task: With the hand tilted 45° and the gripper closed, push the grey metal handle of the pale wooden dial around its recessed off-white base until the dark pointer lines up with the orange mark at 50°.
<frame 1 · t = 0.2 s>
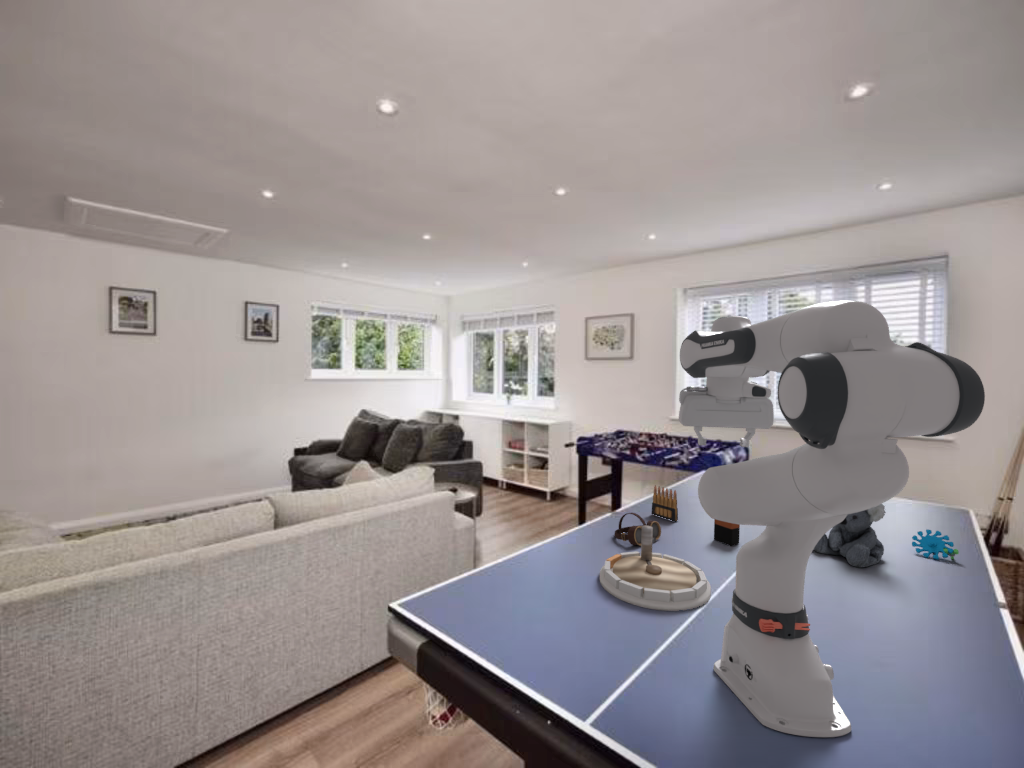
hand: (722, 445, 110), 39 cm above the table, tool pointing down, fingers open, 8 cm apart
battery: (726, 542, 156), on the table
blue virus model: (934, 557, 146), on the table
dial: (654, 557, 124), point 7 cm above the table, hinge at 0.0°
dial base: (653, 583, 124), on the table
ammunition clip: (664, 518, 181), on the table
koala plush: (851, 556, 146), on the table
goggles: (634, 540, 158), on the table
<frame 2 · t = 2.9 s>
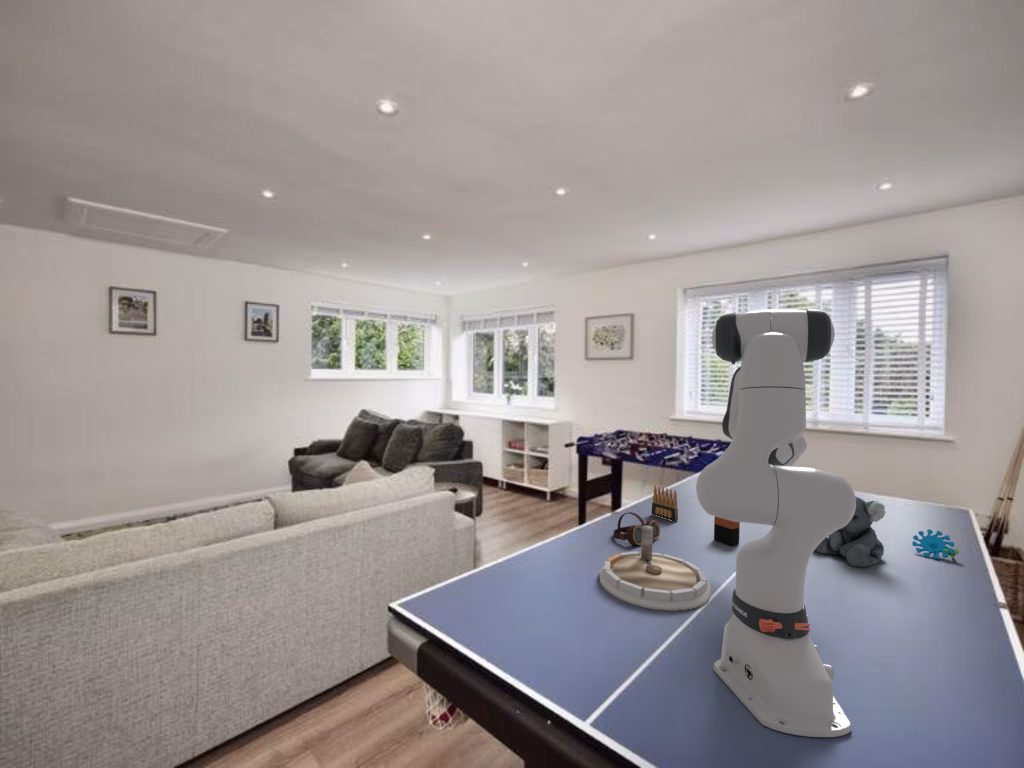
hand: (716, 510, 131), 18 cm above the table, tool tilted 45°, fingers closed
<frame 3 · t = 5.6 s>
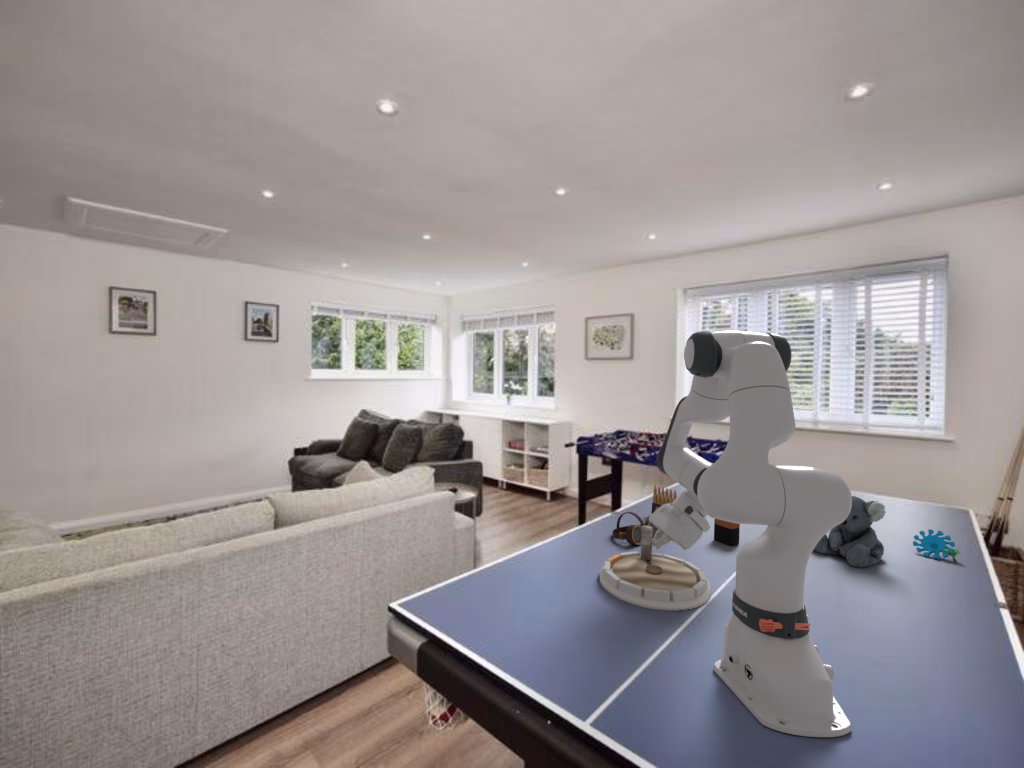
hand: (653, 545, 132), 7 cm above the table, tool tilted 45°, fingers closed, pressing on dial
dial: (654, 557, 124), point 7 cm above the table, hinge at 0.5°, touching gripper
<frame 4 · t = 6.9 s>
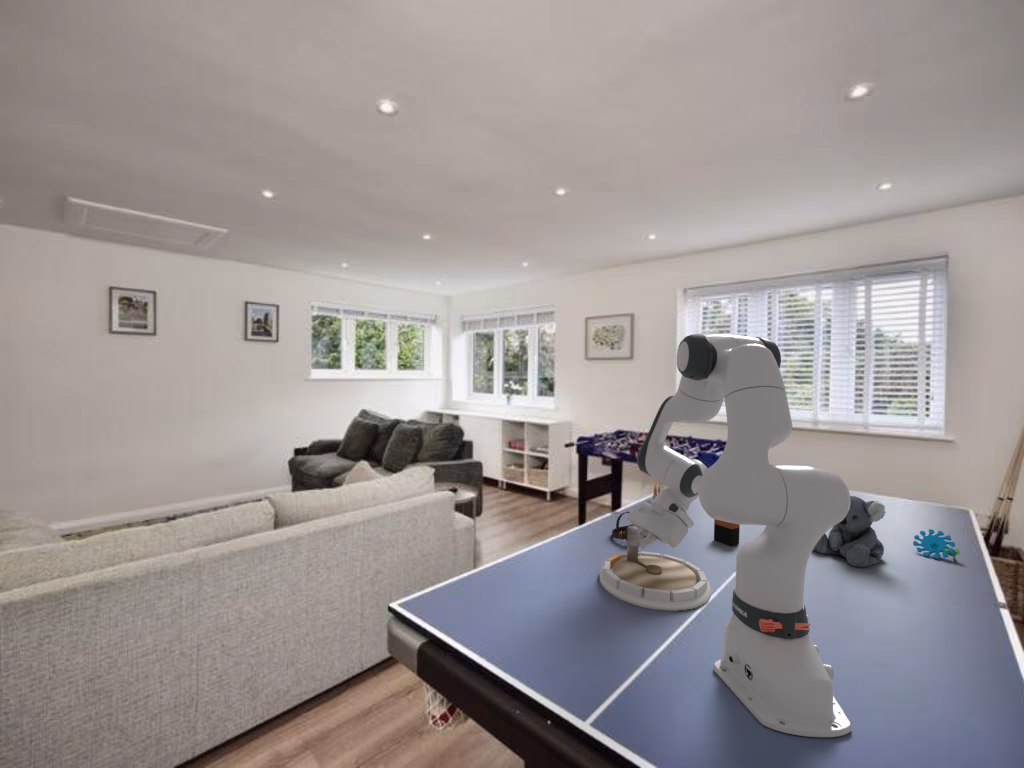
hand: (638, 545, 132), 7 cm above the table, tool tilted 45°, fingers closed, pressing on dial
dial: (654, 557, 124), point 7 cm above the table, hinge at 28.9°, touching gripper
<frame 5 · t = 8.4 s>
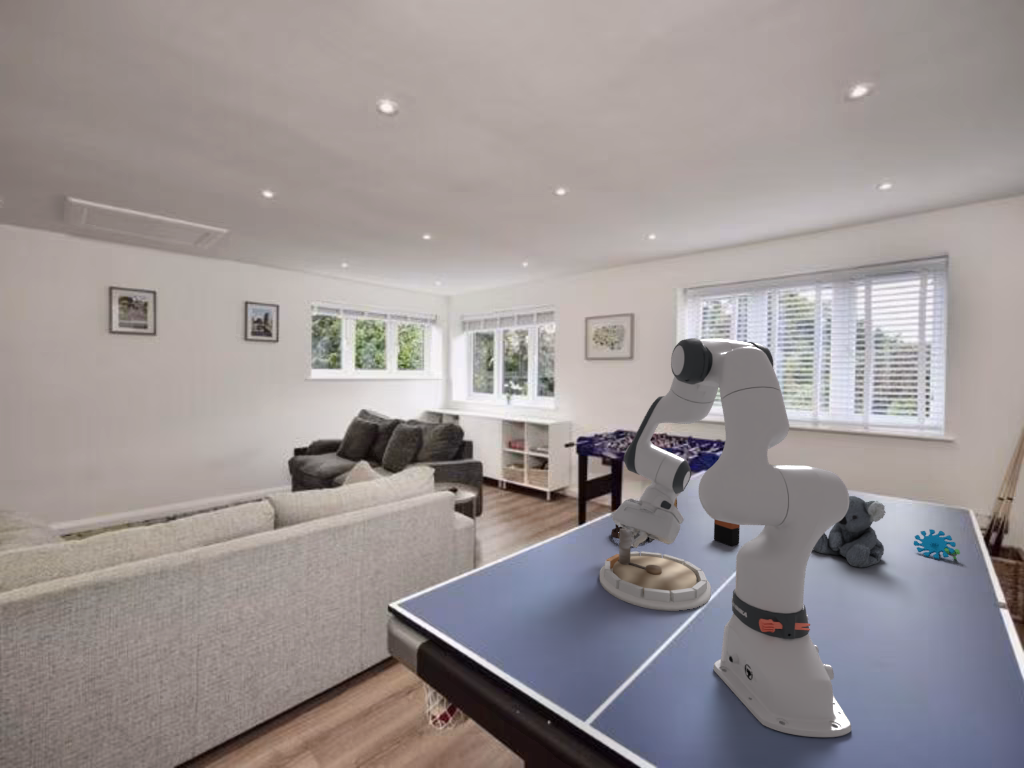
hand: (631, 545, 132), 7 cm above the table, tool tilted 45°, fingers closed
dial: (654, 557, 124), point 7 cm above the table, hinge at 51.7°
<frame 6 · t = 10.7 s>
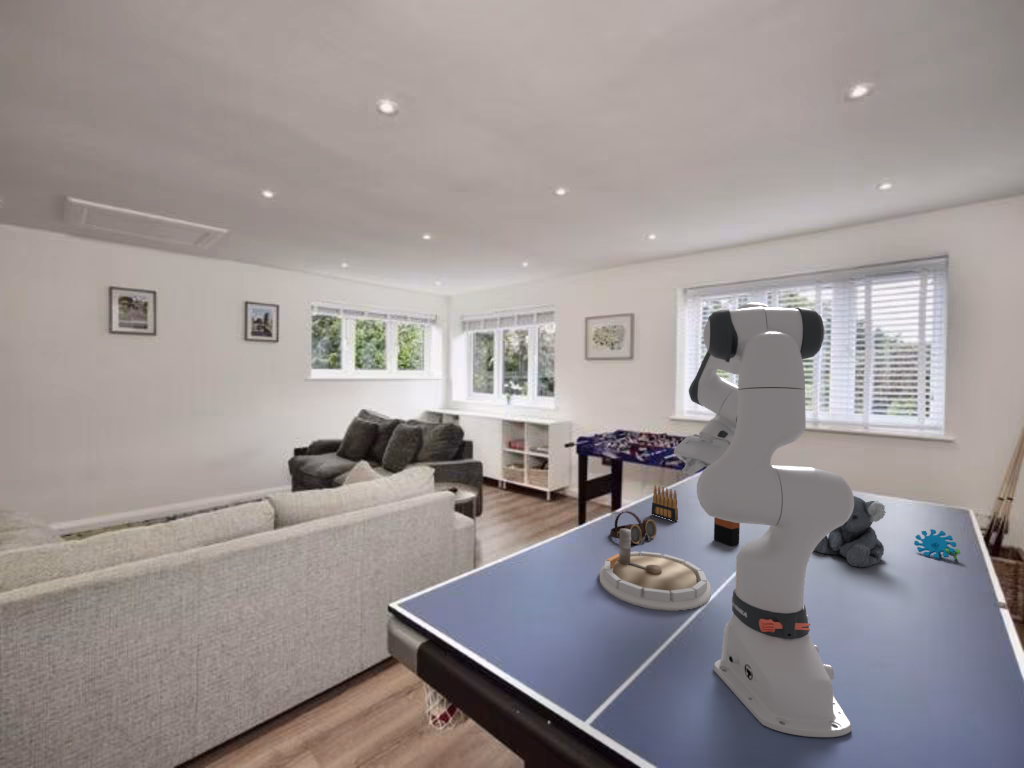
hand: (686, 473, 134), 27 cm above the table, tool tilted 45°, fingers closed
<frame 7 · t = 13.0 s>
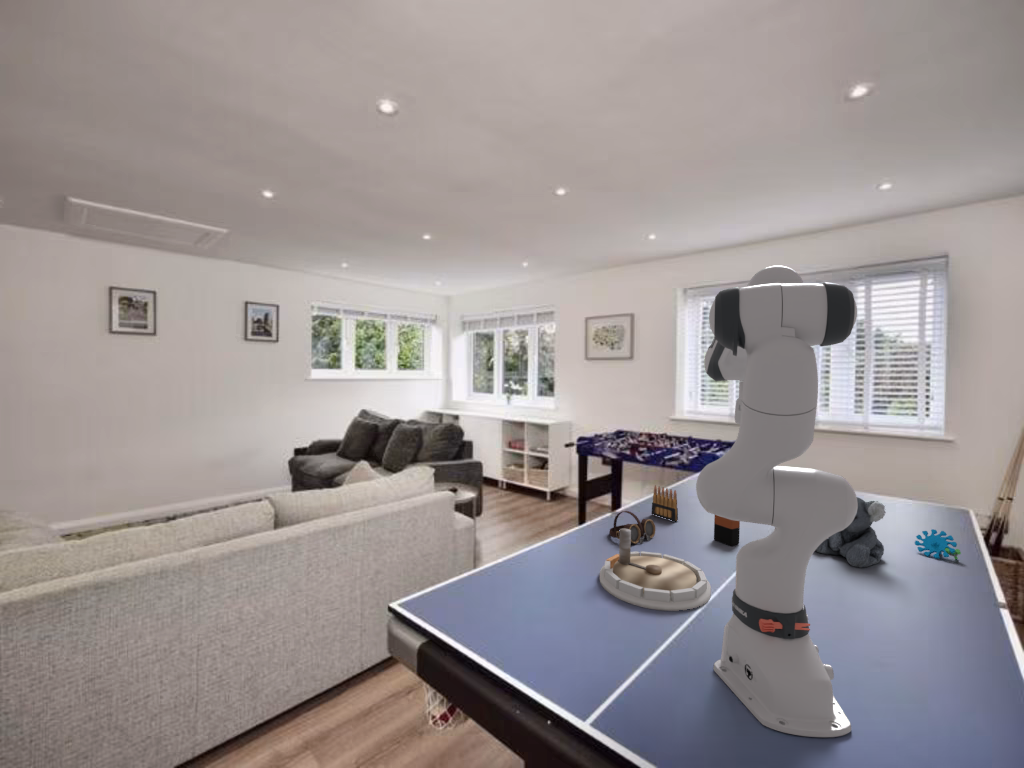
hand: (755, 444, 125), 37 cm above the table, tool pointing down, fingers closed
at the end: dial at +52° (first picture: +0°); goggles moved 2.4 cm from its start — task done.
